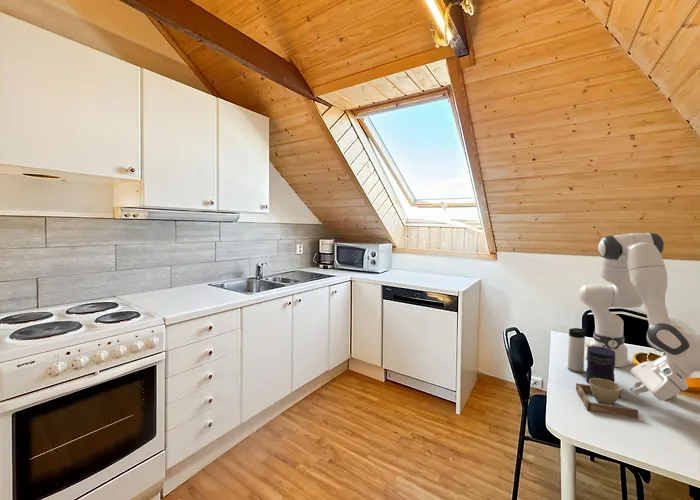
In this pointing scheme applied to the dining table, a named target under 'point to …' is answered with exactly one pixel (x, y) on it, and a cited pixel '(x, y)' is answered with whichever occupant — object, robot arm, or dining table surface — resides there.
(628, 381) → the dining table surface
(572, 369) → the travel mug
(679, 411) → the dining table surface
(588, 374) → the storage jar
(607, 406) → the frame
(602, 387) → the beige bowl
